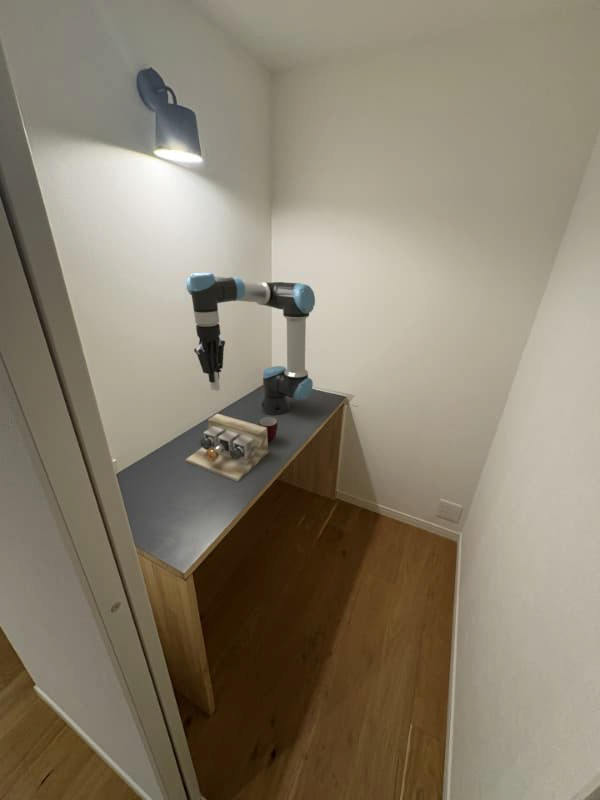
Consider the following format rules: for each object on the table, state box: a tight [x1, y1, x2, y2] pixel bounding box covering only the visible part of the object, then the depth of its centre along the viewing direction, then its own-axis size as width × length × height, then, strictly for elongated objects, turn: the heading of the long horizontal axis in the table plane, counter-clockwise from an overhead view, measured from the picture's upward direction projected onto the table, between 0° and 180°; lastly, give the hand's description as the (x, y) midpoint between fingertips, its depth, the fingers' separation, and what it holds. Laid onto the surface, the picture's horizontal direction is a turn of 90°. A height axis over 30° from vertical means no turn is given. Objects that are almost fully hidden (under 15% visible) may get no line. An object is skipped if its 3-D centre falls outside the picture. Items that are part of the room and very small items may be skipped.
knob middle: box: [206, 441, 229, 462], centre depth 124 cm, size 9×5×5 cm, turn 153°
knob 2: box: [230, 446, 244, 460], centre depth 125 cm, size 9×5×5 cm, turn 153°
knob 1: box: [199, 436, 214, 450], centre depth 131 cm, size 9×5×5 cm, turn 153°
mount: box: [185, 413, 269, 482], centre depth 128 cm, size 21×26×12 cm
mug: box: [258, 416, 278, 444], centre depth 139 cm, size 10×8×10 cm
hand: (215, 389), depth 113 cm, fingers closed
